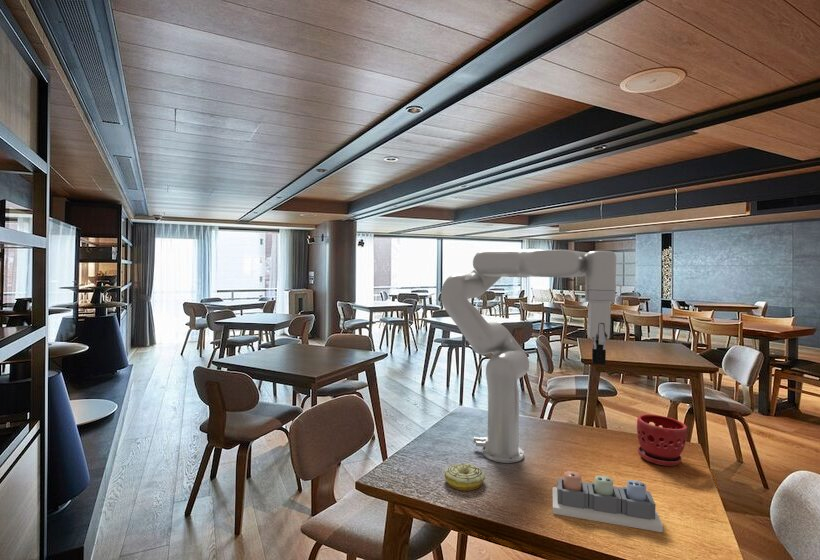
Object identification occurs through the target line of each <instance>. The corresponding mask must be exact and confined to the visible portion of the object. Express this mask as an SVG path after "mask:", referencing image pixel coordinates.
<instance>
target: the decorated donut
mask: <svg viewBox="0 0 820 560" xmlns="http://www.w3.org/2000/svg"><path fill="white" fill-rule="evenodd" d="M444 478H445V482H446V483H447V484H448V485H449V486H450V487H452V488H453V489H455V490H456V491H457V490H459V491H464V492H469V491H472V490H477V489H478V488H480V487H481V486H482V484H483V483H484V481H485V480H486V474H485V473H484V471H483V470H482V469H481V468H480V467H478V466H477V465H474V464H472V463H469V462H468V463H467V462H466V463H463V462H462V463H455V464H452V465H449V466H448V467H446V469H444Z"/></svg>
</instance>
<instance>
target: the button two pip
mask: <svg viewBox="0 0 820 560" xmlns="http://www.w3.org/2000/svg"><path fill="white" fill-rule="evenodd" d="M594 482H595V493H594V494H599V495H606V496H612V497H613V486H614V480H613V479H612V478H611V477H609V476H606V475H595V476H594Z"/></svg>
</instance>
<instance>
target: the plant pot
mask: <svg viewBox="0 0 820 560" xmlns="http://www.w3.org/2000/svg"><path fill="white" fill-rule="evenodd" d="M650 423H653V424H654V425H653V424H650ZM660 426H661V427H660ZM636 432H637V440H638V443H639V446H638V447H637V453H638V455H639V456H640V457H641V458H642V459H643V460H646V461H647V462H649V463H652V464H655V465H659V466H676V465H679V464H680V463H681V462H682V457H681V454H682V453H683V450H684V449H685V446H686V442H687V437H688V426H687V425H686V424H685V423H684V422H682V421H680V420H677V419H675V418H672V417H667V416H664V415H658V414H640V415H638V417H637V420H636Z"/></svg>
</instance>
